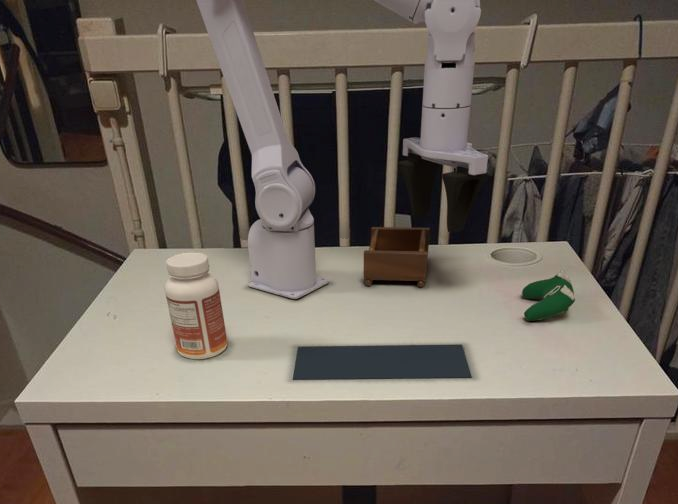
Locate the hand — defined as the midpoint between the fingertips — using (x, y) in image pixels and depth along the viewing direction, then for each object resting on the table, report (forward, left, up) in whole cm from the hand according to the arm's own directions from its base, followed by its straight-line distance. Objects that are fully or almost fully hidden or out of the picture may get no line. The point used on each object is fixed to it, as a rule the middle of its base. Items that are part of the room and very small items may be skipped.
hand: (437, 223), depth 83 cm
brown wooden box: (-8, +4, -9) cm, 13 cm away
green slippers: (+16, +3, -10) cm, 19 cm away
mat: (+6, -22, -9) cm, 24 cm away
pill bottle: (-14, -31, -10) cm, 36 cm away
